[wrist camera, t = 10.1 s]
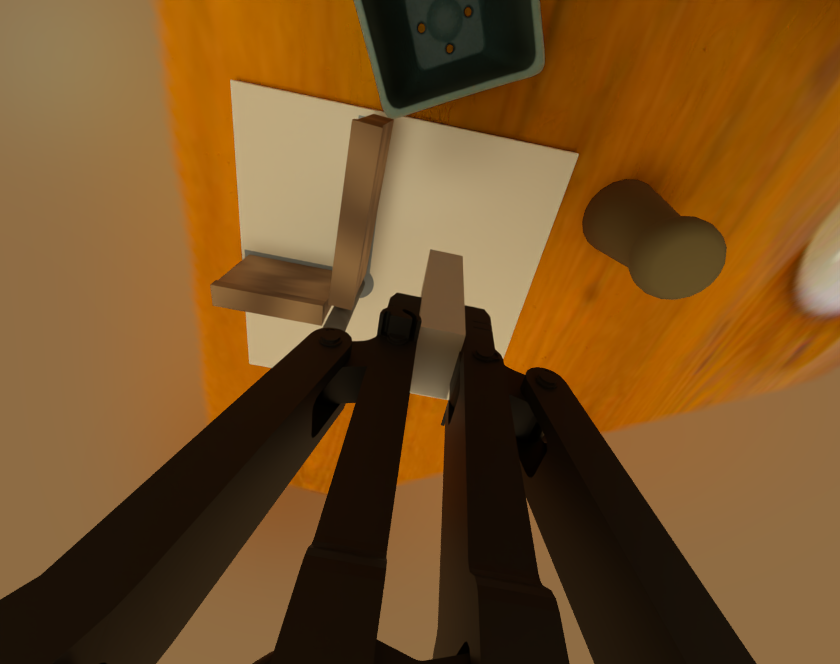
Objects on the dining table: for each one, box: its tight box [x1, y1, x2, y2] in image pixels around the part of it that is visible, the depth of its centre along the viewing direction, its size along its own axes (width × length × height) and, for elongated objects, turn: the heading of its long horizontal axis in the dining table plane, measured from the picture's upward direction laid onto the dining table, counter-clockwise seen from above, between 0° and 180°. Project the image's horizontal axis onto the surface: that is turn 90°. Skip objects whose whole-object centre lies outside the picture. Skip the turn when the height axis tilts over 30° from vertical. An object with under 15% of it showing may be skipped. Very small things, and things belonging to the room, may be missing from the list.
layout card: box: [230, 80, 579, 400], centre depth 36 cm, size 26×26×1 cm
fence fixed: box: [210, 254, 365, 331], centre depth 32 cm, size 11×2×9 cm, turn 80°
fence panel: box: [328, 114, 394, 310], centre depth 29 cm, size 12×2×7 cm, turn 166°
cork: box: [582, 179, 727, 299], centre depth 28 cm, size 6×6×11 cm
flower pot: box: [354, 0, 545, 119], centre depth 23 cm, size 9×9×9 cm
